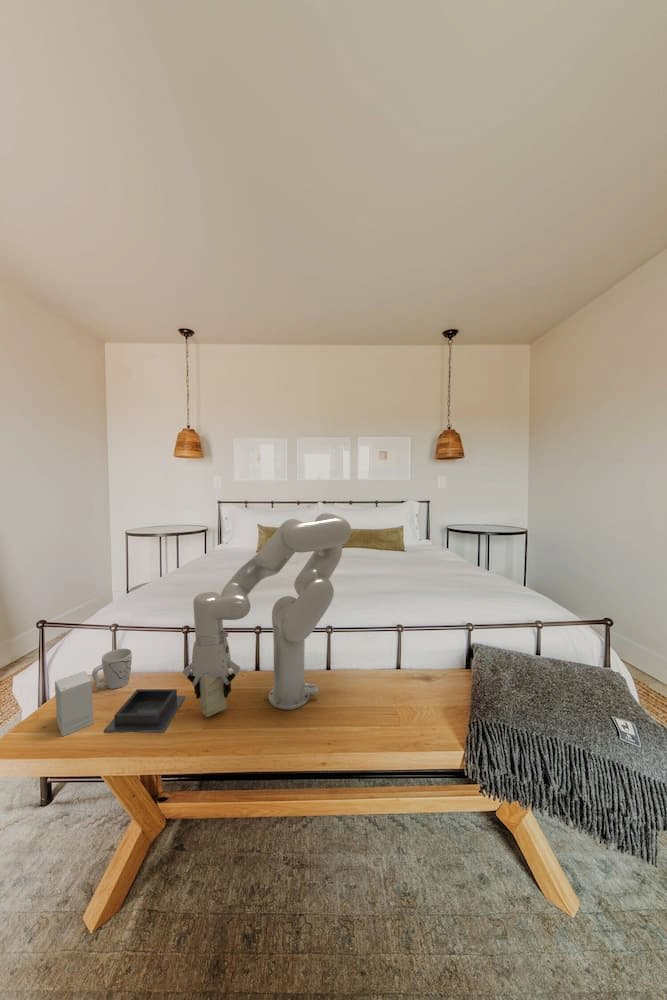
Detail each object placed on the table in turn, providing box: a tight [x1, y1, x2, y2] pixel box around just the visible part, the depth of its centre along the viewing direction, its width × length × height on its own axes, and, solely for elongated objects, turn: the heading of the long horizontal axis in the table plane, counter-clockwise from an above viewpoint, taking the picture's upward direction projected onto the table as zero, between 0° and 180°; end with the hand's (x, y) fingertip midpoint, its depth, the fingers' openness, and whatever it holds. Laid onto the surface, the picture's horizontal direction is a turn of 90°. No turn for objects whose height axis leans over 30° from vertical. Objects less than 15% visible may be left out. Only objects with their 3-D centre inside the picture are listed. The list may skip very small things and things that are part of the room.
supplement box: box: [54, 671, 94, 737], centre depth 102 cm, size 7×7×13 cm
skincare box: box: [199, 674, 228, 718], centre depth 106 cm, size 6×4×12 cm
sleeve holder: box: [103, 688, 186, 734], centre depth 106 cm, size 16×15×4 cm
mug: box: [91, 648, 133, 690], centre depth 120 cm, size 11×8×10 cm
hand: (213, 695), depth 107 cm, fingers closed on skincare box, 7 cm apart
